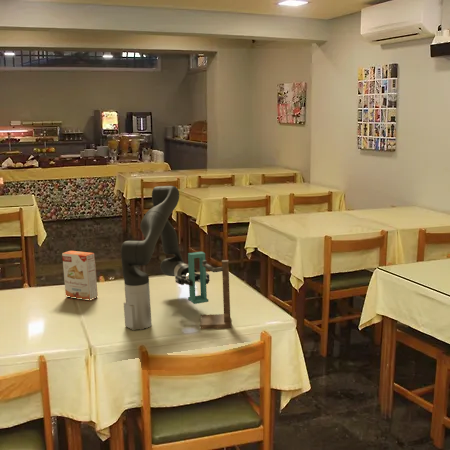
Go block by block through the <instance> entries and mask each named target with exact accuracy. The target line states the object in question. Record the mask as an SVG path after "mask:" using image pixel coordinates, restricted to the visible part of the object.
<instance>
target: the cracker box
mask: <svg viewBox="0 0 450 450" xmlns="http://www.w3.org/2000/svg"><path fill="white" fill-rule="evenodd" d="M61 256H62V257H61V258H62V267H63V280H64V289H65V290H64V291H65V292H64V293H65V296H66V295H67V296H70V297H76V298H82V299H89V300H90V299H92V298H95V297H97V296H98V284H97V283H98V281H97V270H96V258H95V257H96V256H95V253H94V252H89V251H88V252H86V251H78V250H77V251H76V250H68V251H65V252H62V254H61ZM98 297H99V296H98Z"/></svg>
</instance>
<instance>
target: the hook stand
mask: <svg viewBox="0 0 450 450" xmlns="http://www.w3.org/2000/svg"><path fill="white" fill-rule="evenodd" d="M207 261H208V260H206V259H205V260H203V263H202V266H203V267H205V268H206V270H209V272H210V271H211V272H212V273H218V272H219V273H220V272H222V276H221V277H222V300H223V301H222V302H223V303H222V304H223V313H222V314H221V313H218V314H216V313H215V314H201V315H200V319H199V320H200V323H199V329H200V330H206V329H207V330H208V329H232V320H231V300H230V298H231V297H230V294H231V293H230V275H229V274H230V267H229V259H222V260H221V266H220V267H214V266H212V265H210V264H209V263H208V262H207Z"/></svg>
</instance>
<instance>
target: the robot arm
mask: <svg viewBox="0 0 450 450" xmlns="http://www.w3.org/2000/svg"><path fill="white" fill-rule="evenodd" d="M179 201H180V190H179V189H178V188H177V187H176V186H174V185H160V186H159V185H158V186H154V187H153V189H152V192H151V202H152V206H153V207H151V208H150V209H149V210H148V211H146V213H145V214H144V216H143V218H142V219H141V221H140V230H141V233H142V236H143V237H144V238H145V239H143V240H125V241H124V242H122V244H121V247H120V259H121V260H120V261H121V267H122V269H121V270H122V276H123V282H124V295H125V302H123V311H124V313H123V315H124V326H127V327H128V328H127V327H126V328H127V329H129V328H130V330H131V329H132V331H136V330H135V329H140V330H145V329H144V328H146V329H148V327H149V328H150V327H152V311H151V310H152V309H151V294H150V293H151V290H150V277H149V274H148V273H146V272H145V271H142V270H141V269H140V270H138V269H137V268H136V267H135V265H140V266H146V265H148V264H150V262H151V259H152V258H153V254H154V251H155V249H156V246H157V242H158V240H159V238H160V239H161V247H162V252H163V253H164V254H167V255H173V257H168V258H164V259H163V260H162V261H161V262H160V266H159V267H160V271H161V272H162V274H164V275H166V276H170V277H175V278H174V279H175V283H177V284H178V285H181V286H184V285H186V286H189V285H190V286H193V281H192V280H190V279H189V269H188V263H185V261H184V258H183V257H182V254H181V251H180V247H179V240H178V234H177V231H176V228H175V227H174V226H173V225H172V224H171V222H170V220H169V217H170V216H171V215H172V213H173V212H174V210H175V208H176V207H177V206H178V203H179ZM194 272H195V283H200V272H198V271H197V269H195V268H194ZM210 281H211V280H210V274H209V273H208V272H207V271H206V285H208V284H209V283H210Z"/></svg>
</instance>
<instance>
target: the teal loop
mask: <svg viewBox="0 0 450 450" xmlns="http://www.w3.org/2000/svg"><path fill="white" fill-rule="evenodd" d="M195 259H199V273H200V282H199V285H200V295H199V294H198V295H196V282H195V272H194V269H195ZM203 260H206V253H205V252H204V251H197V252H194V251H193V252H187V262H188V263H187V264H188V269H189V279H190V280H192V281H193V286H190V285H188V289H189V296H188V297H187V299H188V301H189V302H191V303H192V304H193V305H197V304H203V303H208V302H209V299H208V298H207V297H208V295H207V293H208V292H207V284H206V272H207V268H205V267H203V266H202V263H203Z"/></svg>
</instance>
